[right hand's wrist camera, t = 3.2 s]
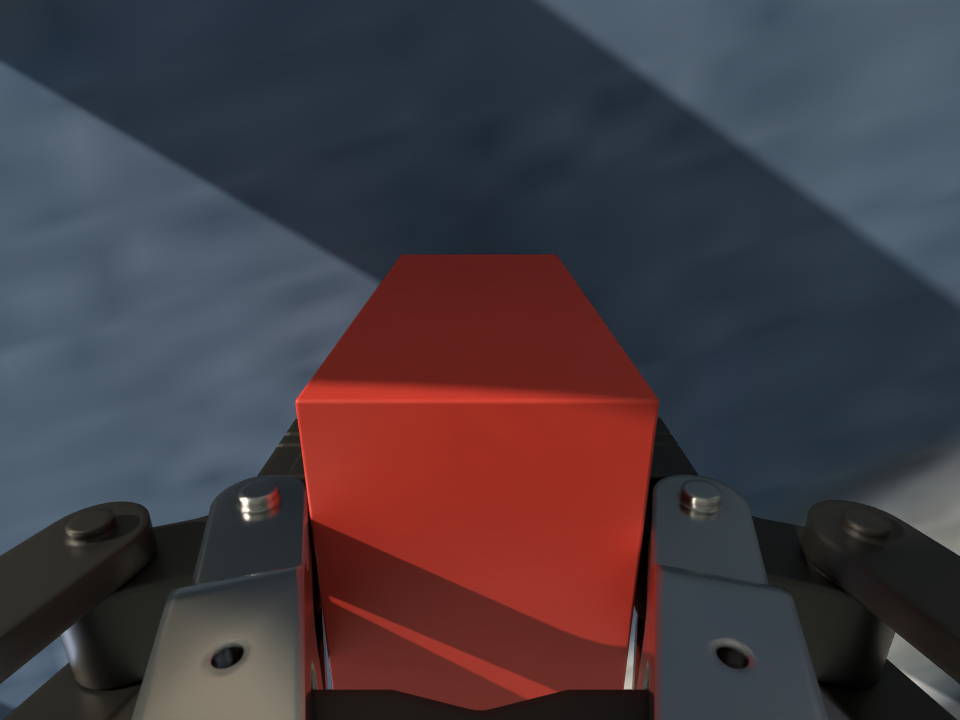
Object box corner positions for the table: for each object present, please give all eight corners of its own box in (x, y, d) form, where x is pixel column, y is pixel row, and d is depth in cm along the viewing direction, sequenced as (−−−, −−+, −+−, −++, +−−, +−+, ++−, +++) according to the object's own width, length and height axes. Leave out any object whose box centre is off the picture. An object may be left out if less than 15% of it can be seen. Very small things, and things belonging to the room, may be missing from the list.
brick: (409, 438, 17) (337, 739, 8) (400, 254, 15) (293, 400, 6) (548, 438, 17) (618, 740, 8) (557, 254, 15) (662, 399, 6)
